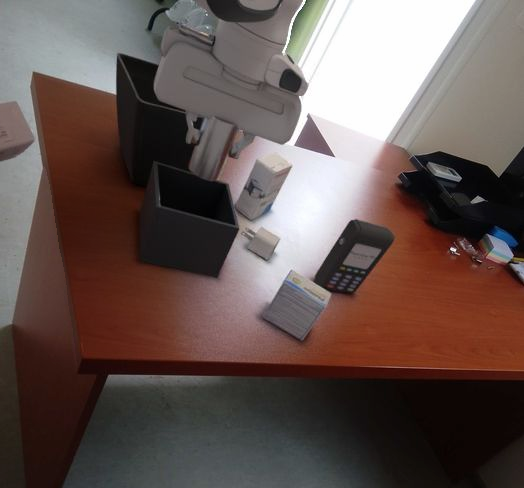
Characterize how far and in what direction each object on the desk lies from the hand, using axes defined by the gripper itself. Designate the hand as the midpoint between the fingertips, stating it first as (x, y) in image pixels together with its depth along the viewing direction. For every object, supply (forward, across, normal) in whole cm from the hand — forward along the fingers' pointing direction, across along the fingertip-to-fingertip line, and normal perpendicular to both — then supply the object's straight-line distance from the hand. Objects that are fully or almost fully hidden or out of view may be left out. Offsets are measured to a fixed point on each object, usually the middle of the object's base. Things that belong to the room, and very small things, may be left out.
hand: (212, 149), depth 68 cm
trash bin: (+18, 0, 0) cm, 18 cm away
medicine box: (+18, +18, -15) cm, 30 cm away
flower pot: (+18, -3, +23) cm, 30 cm away
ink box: (+18, +18, +19) cm, 32 cm away
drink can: (+4, 0, 0) cm, 4 cm away
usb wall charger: (+18, +16, +5) cm, 25 cm away
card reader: (+18, +32, -2) cm, 37 cm away
